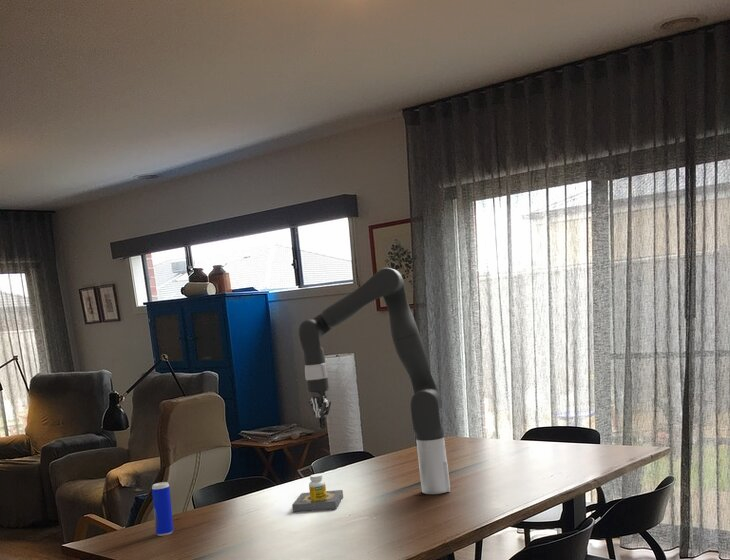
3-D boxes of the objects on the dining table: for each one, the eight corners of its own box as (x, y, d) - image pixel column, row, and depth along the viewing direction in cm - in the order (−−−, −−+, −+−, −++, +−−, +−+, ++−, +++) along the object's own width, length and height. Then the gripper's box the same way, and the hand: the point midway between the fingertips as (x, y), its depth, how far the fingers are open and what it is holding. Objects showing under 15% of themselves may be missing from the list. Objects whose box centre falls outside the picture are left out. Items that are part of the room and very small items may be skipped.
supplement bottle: (322, 501, 230) (319, 472, 230) (330, 504, 225) (327, 474, 226) (308, 505, 227) (305, 475, 227) (316, 508, 222) (312, 478, 223)
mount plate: (343, 497, 232) (342, 489, 233) (336, 509, 218) (335, 501, 219) (302, 500, 234) (301, 493, 234) (292, 512, 220) (292, 504, 220)
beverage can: (158, 532, 215) (153, 483, 216) (175, 529, 215) (170, 480, 216) (154, 537, 210) (149, 486, 210) (171, 534, 210) (167, 484, 211)
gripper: (335, 376, 235) (341, 427, 234) (317, 375, 246) (323, 425, 245) (315, 379, 231) (321, 431, 230) (298, 378, 242) (304, 428, 241)
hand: (322, 428), depth 237 cm, fingers closed
